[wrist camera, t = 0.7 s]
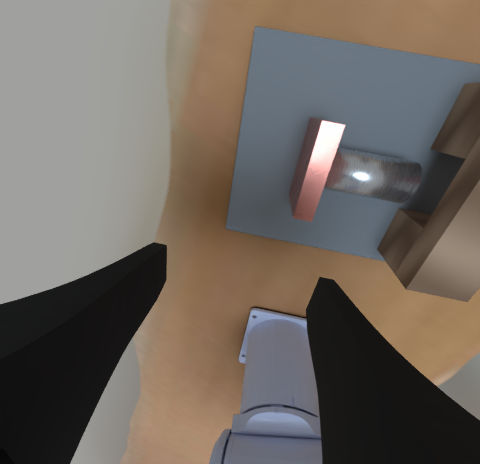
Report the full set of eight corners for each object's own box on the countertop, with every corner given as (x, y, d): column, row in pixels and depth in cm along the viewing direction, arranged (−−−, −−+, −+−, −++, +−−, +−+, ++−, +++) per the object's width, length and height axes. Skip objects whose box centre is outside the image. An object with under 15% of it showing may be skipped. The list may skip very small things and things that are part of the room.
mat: (448, 270, 21) (453, 275, 20) (226, 225, 21) (225, 228, 21) (588, 85, 14) (600, 85, 13) (255, 29, 15) (255, 26, 14)
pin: (288, 194, 19) (292, 218, 15) (310, 117, 16) (322, 120, 12) (379, 212, 18) (408, 241, 14) (416, 136, 16) (464, 146, 12)
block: (424, 258, 20) (467, 301, 15) (376, 249, 20) (406, 289, 15) (533, 95, 14) (651, 90, 10) (464, 84, 14) (550, 73, 10)
